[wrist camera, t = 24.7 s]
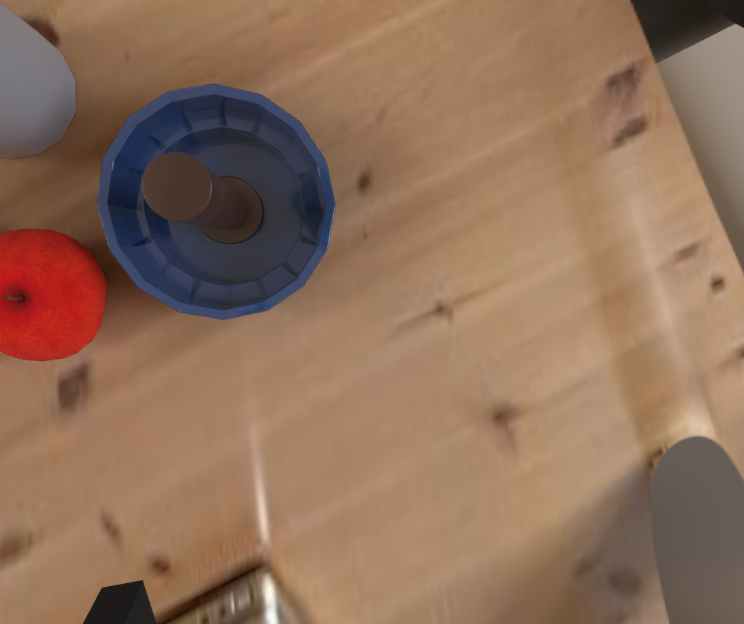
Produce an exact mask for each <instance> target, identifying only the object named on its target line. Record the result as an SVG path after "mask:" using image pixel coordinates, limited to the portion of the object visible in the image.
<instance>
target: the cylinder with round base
mask: <svg viewBox="0 0 744 624" xmlns="http://www.w3.org/2000/svg"><path fill="white" fill-rule="evenodd" d="M142 191H143V195H144V198H145V200H146V202H147V204H148V205H149V206H150V208H151V209H152V210H153V211H154V212H155V213H157V214H158V215H160V216H161V217H163V218H166V219H168V220H172V221H178V222H184V223H189V224H195V225H198V226H199V228H200V229H201V230H202V232H203V233H204V234H205V235H206V236H208V237H209V238H210V239H212V240H214V241H217V242H219V243H224V244H237V243H241V242H244V241H246V240H248V239H250V238H251V237H252V236H253V235H254V234H255V233H256V232H257V231H258V229H259V228H260V226H261V223H262V220H263V204H262V201H261V199H260V196H259V195H258V193H257V192H256V191H255V189H254V188H253V187H252V186H251V185H250V184H248V183H247V182H246V181H244V180H242V179H240V178H237V177H233V176H220V177H218V176H217V175H216V174H214V173H213V172H212V171H211V170H210V169H208V168H207V167H206V166H205V165H203V164H202V163H201V162H200V161H198V160H197V159H196V158H194V157H192V156H190V155H188V154H185V153H180V152H169V153H165V154H162V155H160V156H158V157H156V158H155V159H154V160H152V161H151V162H150V163H149V165H148V166H147V168H146V170H145V172H144V174H143V178H142Z"/></svg>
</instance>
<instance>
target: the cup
mask: <svg viewBox="0 0 744 624" xmlns="http://www.w3.org/2000/svg"><path fill="white" fill-rule="evenodd" d="M75 113H76V81H75V79H74V77H73V75H72V73H71V71H70V69H69V67H68V65H67V62H66V60H65V58H64V56H63V54H62V52H60V51H59V50H58V49H57V48H56V47H55V46H53V45H52V44H51V43H50V42H49V41H48V40H46V39H45V38H44V37H43V36H42V35H41V34H40V33H38V32H37V31H36V30H35V29H34V28H32V27H31V26H30V25H29V24H27V23H26V22H25V21H24V20H22V19H21V18H20V17H19V16H17V15H16V14H15V13H14V12H12V11H11V10H10V9H9V8H7V7H6V6H5V5H4V4H3V3H1V2H0V156H1V157H4V158H8V159H12V158H19V157H25V156H32V155H38V154H41V153H42V152H44V151H45V150H46V149H48V148H49V147H51V146H52V145H53V144H55V143H56V142H58V141H59V140H60V139H62V138H63V137H64V135H65V133H66V131H67V129H68V127H69V125H70V123H71V121H72V119H73V117H74V115H75Z"/></svg>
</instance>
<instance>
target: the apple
mask: <svg viewBox="0 0 744 624" xmlns="http://www.w3.org/2000/svg"><path fill="white" fill-rule="evenodd" d="M105 302H106V279H105V276H104V273H103V270H102V268H101V267H100V265H99V264H98V262H97V261H96V259H95V258H94V256H93V254H92V253H91V252H90V251H88V250H87V249H86V248H85V247H83V246H82V245H81V244H80V243H79V242H77V241H76V240H75V239H73V238H71V237H69V236H67V235H65V234H63V233H60V232H56V231H53V230H40V229H22V230H16V231H10V232H7V233H4V234H0V351H1V352H2V353H4V354H6V355H9V356H12V357H16V358H19V359H23V360H34V361H48V360H55V359H62V358H66V357H68V356H71V355H73V354H76V353H78V352H79V351H80V350H81V349H82V348H83V347H85V346H86V345H87V344H88V343H90V342H91V341H92V340H93V338H94V337H95V335H96V333H97V332H98V330H99V329H100V327H101V323H102V318H103V312H104V307H105Z"/></svg>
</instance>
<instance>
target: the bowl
mask: <svg viewBox="0 0 744 624" xmlns="http://www.w3.org/2000/svg"><path fill="white" fill-rule="evenodd" d="M169 152H180V153H185V154H188V155H190V156H192V157H194V158H196V159H197V160H198V161H200V162H201V163H202V164H203V165H205V166H206V167H207V168H208V169H210V170H211V171H212V172H213V173H214V174H216V175H217V176H218V177H220V176H233V177H237V178H240V179H242V180H244V181H246V182H247V183H248V184H250V185H251V186H252V187H253V188H254V189H255V191H256V192H257V193H258V195H259V196H260V199H261V201H262V204H263V220H262V223H261V226H260V228H259V229H258V231H257V232H256V233H255V234H254V235H253V236H252V237H251V238H250V239H248V240H246V241H244V242H241V243H237V244H224V243H219V242H217V241H214V240H212V239H210V238H209V237H208V236H206V235H205V234H204V233H203V232H202V230H201V229H200V228H199V226H198V225H195V224H189V223H184V222H178V221H172V220H168V219H166V218H163V217H161V216H160V215H158V214H157V213H155V212H154V211H153V210H152V209H151V208H150V206H149V205H148V204H147V202H146V200H145V198H144V195H143V191H142V178H143V174H144V172H145V170H146V168H147V166H148V165H149V163H150V162H151V161H152V160H154V159H155V158H156V157H158V156H160V155H162V154H165V153H169ZM97 207H98V211H99V215H100V218H101V222H102V226H103V229H104V233H105V237H106V240H107V244H108V248H109V250H110V252H111V253H112V255H113V256H114V257H115V259H116V260H117V261H118V262H119V264H120V265H121V266H122V268H123V269H124V270H125V272H126V273H127V274H128V275H129V277H130V278H131V279H132V281H133V282H134V283H135V285H136V286H137V287H138V288H139V289H141V290H142V291H144V292H146V293H147V294H149V295H151V296H152V297H154V298H156V299H157V300H159V301H161V302H162V303H164V304H166V305H167V306H169V307H171V308H172V309H174V310H176V311H177V312H180V313H185V314H191V315H197V316H203V317H209V318H215V319H221V320H226V319H231V318H236V317H240V316H245V315H250V314H254V313H259V312H264V311H267V310H269V309H271V308H272V307H274V306H275V305H277V304H278V303H280V302H281V301H283V300H284V299H285V298H287V297H288V296H290V295H291V294H293V293H294V292H296V291H297V290H299V289H300V288H302V287H303V285H305V283H306V282H307V280H308V279H309V277H310V276H311V274H312V273H313V271H314V270H315V268H316V267H317V265H318V263H319V262H320V260H321V259H322V257H323V256H324V254H325V253H326V251H327V249H328V245H329V239H330V234H331V229H332V223H333V218H334V212H335V200H334V195H333V190H332V185H331V181H330V176H329V171H328V166H327V162H326V160H325V158H324V157H323V155H322V154H321V152H320V151H319V149H318V148H317V146H316V144H315V143H314V141H313V140H312V138H311V137H310V135H309V134H308V132H307V131H306V129H305V128H304V126H303V125H302V123H300V121H299V120H297V119H296V118H294V117H293V116H291V115H290V114H289V113H287V112H286V111H284V110H283V109H282V108H280V107H279V106H277V105H276V104H274V103H273V102H272V101H270V100H269V99H267V98H266V97H264V96H263V95H261V94H257V93H253V92H249V91H245V90H240V89H236V88H232V87H228V86H223V85H219V84H208V85H202V86H196V87H190V88H185V89H179V90H173V91H168V92H166V93H164V94H163V95H161V96H160V97H158V98H157V99H155V100H154V101H152V102H151V103H149V104H148V105H146V106H145V107H143V108H142V109H140V110H139V111H137V112H136V113H134V114H133V115H131V116H130V117H129V118H127V120H126V122H125V123H124V125H123V126H122V128H121V130H120V131H119V133H118V134H117V136H116V138H115V139H114V141H113V142H112V144H111V146H110V147H109V149H108V150H107V152H106V154H105V155H104V158H103V162H102V169H101V176H100V183H99V190H98V197H97Z"/></svg>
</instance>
